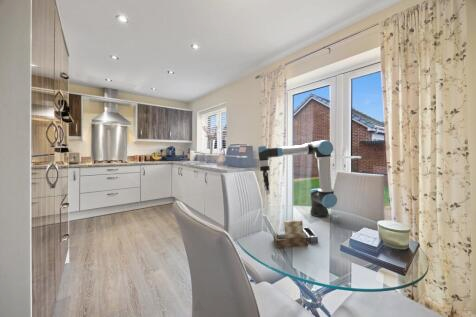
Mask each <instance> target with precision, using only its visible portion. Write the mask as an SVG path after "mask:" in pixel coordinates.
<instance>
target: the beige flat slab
mask: <svg viewBox="0 0 476 317" xmlns="http://www.w3.org/2000/svg"><path fill="white" fill-rule="evenodd" d="M283 224H284V232H285V237H286V239H289V238H300V237H304V233H303V227H304V225H303V219H295V220H294V219H293V220H284V222H283Z"/></svg>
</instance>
